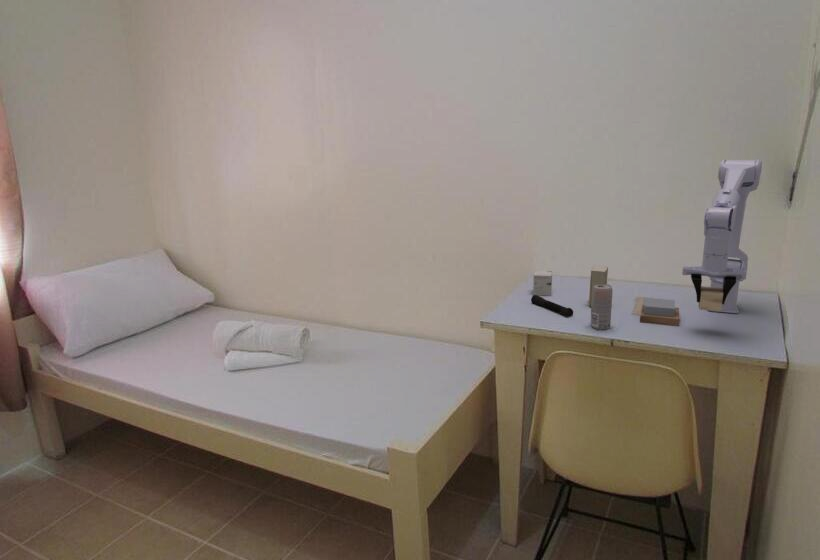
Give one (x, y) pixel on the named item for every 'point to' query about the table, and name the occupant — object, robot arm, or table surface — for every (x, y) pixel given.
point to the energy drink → (601, 306)
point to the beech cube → (711, 298)
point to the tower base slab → (660, 318)
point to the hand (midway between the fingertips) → (710, 302)
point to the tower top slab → (659, 307)
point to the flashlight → (551, 305)
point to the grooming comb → (638, 306)
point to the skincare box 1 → (542, 283)
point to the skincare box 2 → (597, 278)
